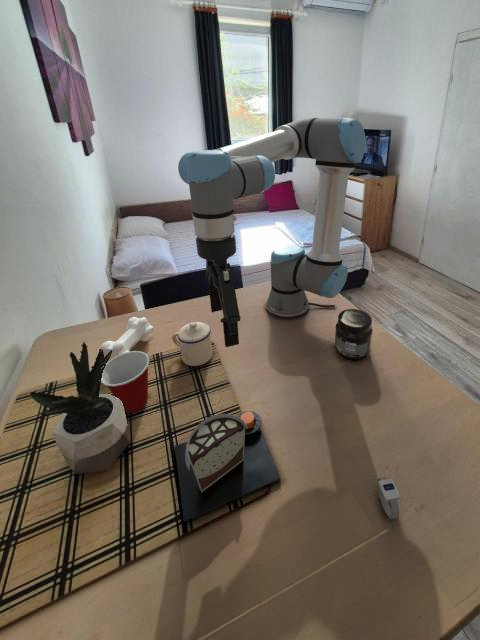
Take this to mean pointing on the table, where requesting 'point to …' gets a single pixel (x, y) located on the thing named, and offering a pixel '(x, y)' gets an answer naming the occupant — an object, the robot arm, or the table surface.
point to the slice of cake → (215, 448)
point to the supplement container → (353, 335)
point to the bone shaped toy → (129, 337)
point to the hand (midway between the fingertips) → (224, 326)
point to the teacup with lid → (194, 343)
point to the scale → (228, 477)
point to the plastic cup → (128, 379)
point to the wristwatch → (389, 497)
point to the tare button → (248, 419)
